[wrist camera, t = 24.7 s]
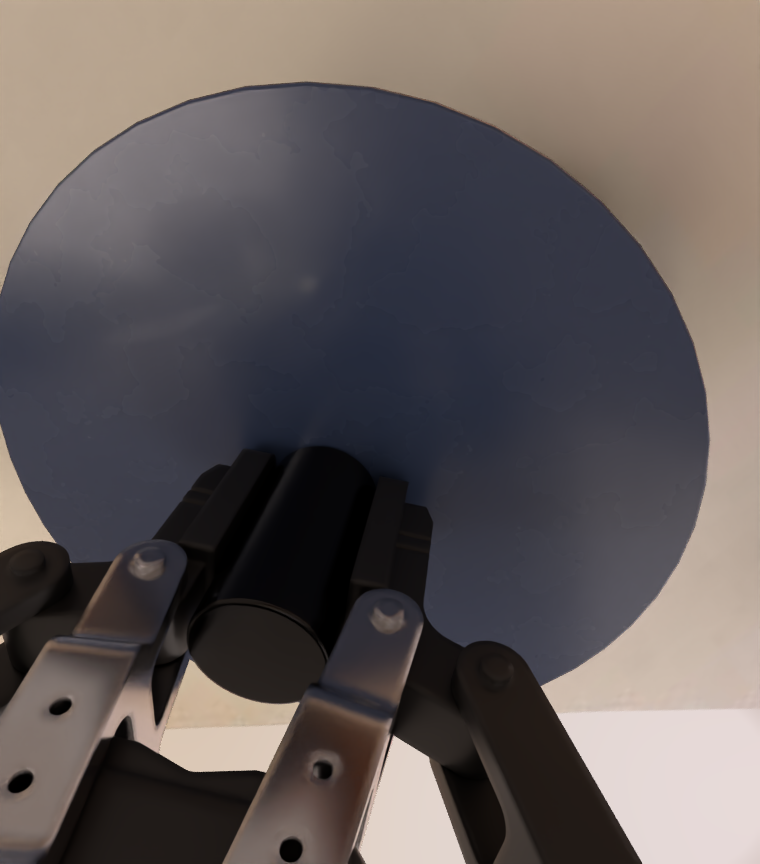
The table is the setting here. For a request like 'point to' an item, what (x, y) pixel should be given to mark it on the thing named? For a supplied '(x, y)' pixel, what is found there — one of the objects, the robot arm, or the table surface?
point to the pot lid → (355, 372)
